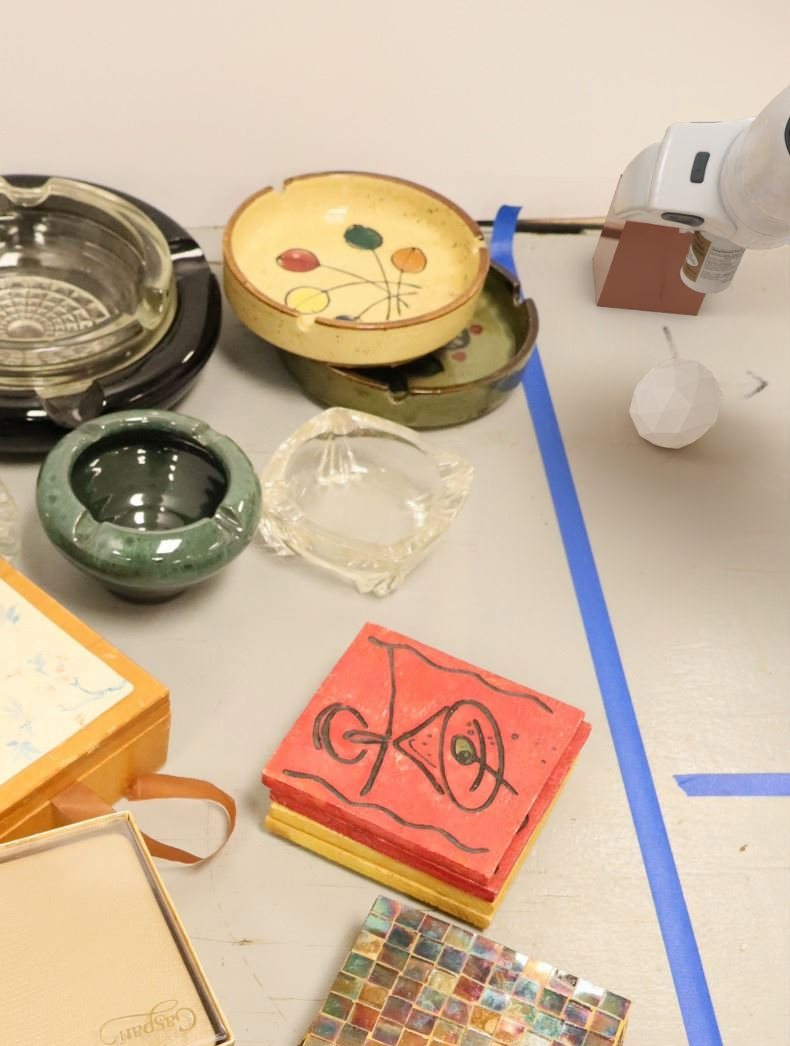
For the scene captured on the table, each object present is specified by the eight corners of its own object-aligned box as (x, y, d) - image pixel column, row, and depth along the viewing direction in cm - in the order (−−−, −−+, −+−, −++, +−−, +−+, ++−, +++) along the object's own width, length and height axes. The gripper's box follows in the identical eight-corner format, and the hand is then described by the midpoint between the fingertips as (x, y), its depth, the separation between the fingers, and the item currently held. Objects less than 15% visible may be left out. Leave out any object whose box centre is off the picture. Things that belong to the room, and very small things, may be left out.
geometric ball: (670, 455, 136) (748, 406, 131) (644, 473, 131) (725, 422, 125) (629, 386, 136) (706, 334, 130) (601, 401, 130) (680, 347, 125)
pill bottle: (677, 261, 126) (710, 177, 120) (727, 267, 126) (763, 183, 119) (680, 292, 124) (714, 208, 117) (731, 298, 124) (768, 214, 117)
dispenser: (689, 268, 148) (730, 165, 138) (696, 316, 143) (739, 213, 134) (592, 259, 148) (626, 155, 139) (596, 306, 144) (632, 203, 135)
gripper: (927, 158, 107) (858, 207, 120) (650, 118, 108) (613, 171, 122) (902, 248, 108) (837, 287, 121) (629, 207, 110) (594, 250, 123)
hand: (722, 229), depth 122 cm, fingers closed on pill bottle, 4 cm apart
